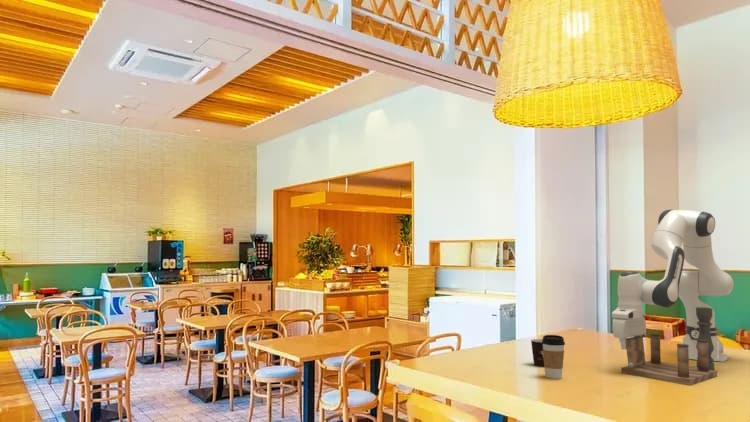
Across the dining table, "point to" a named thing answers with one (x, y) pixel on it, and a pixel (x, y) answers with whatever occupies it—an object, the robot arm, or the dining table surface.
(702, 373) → the stool
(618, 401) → the dining table surface
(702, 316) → the candle holder
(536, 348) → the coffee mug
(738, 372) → the dining table surface
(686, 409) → the dining table surface
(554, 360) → the coffee cup
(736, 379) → the dining table surface
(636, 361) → the hinged leg
